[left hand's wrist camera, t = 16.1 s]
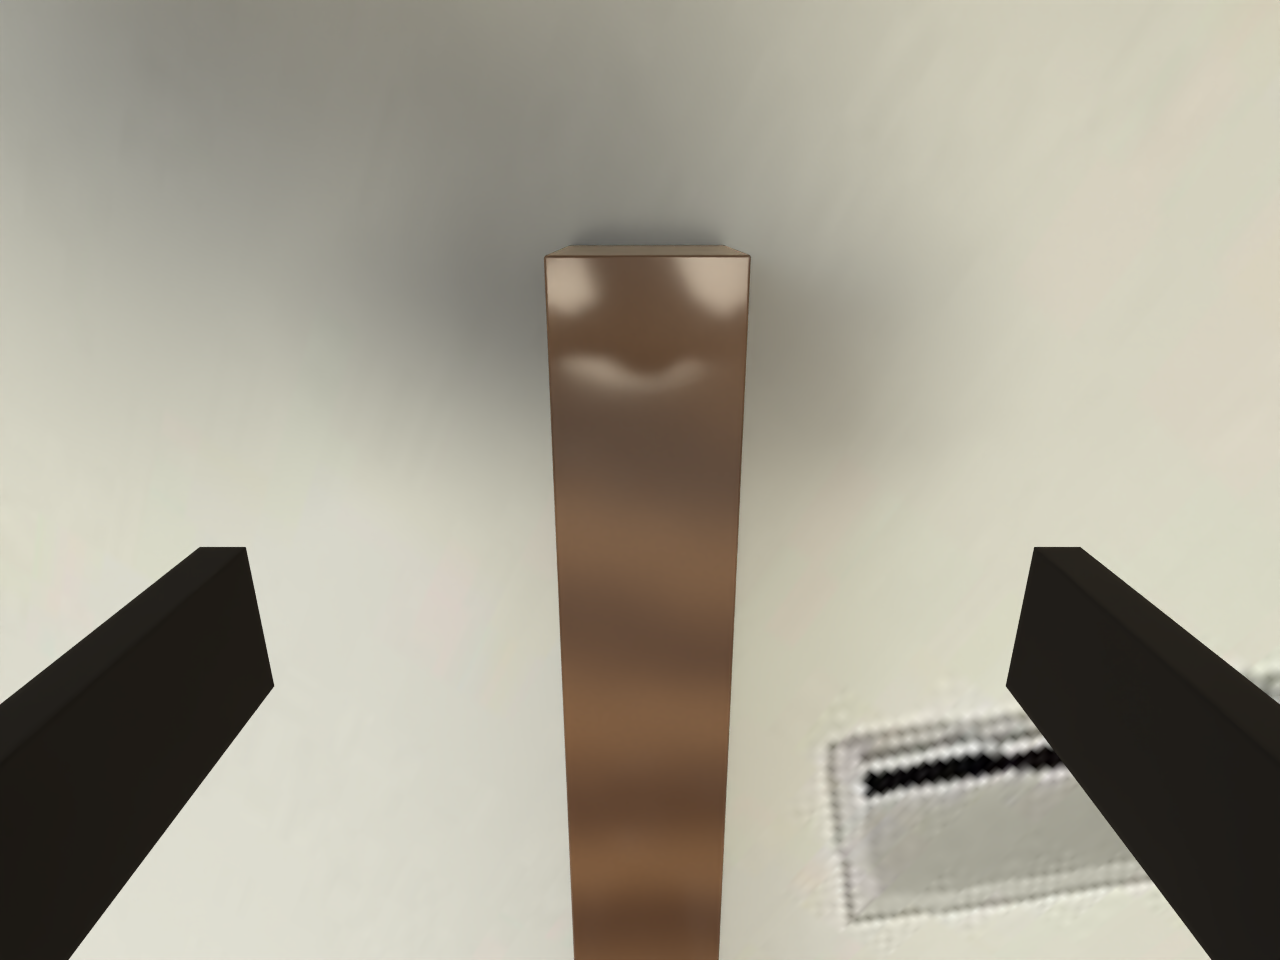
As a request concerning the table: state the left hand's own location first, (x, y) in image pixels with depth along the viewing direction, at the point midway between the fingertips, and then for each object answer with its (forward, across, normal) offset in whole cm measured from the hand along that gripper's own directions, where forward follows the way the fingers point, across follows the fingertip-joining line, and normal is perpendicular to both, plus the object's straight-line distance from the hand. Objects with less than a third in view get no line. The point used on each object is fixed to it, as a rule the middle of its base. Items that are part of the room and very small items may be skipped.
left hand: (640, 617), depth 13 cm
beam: (+18, 0, -28) cm, 33 cm away
